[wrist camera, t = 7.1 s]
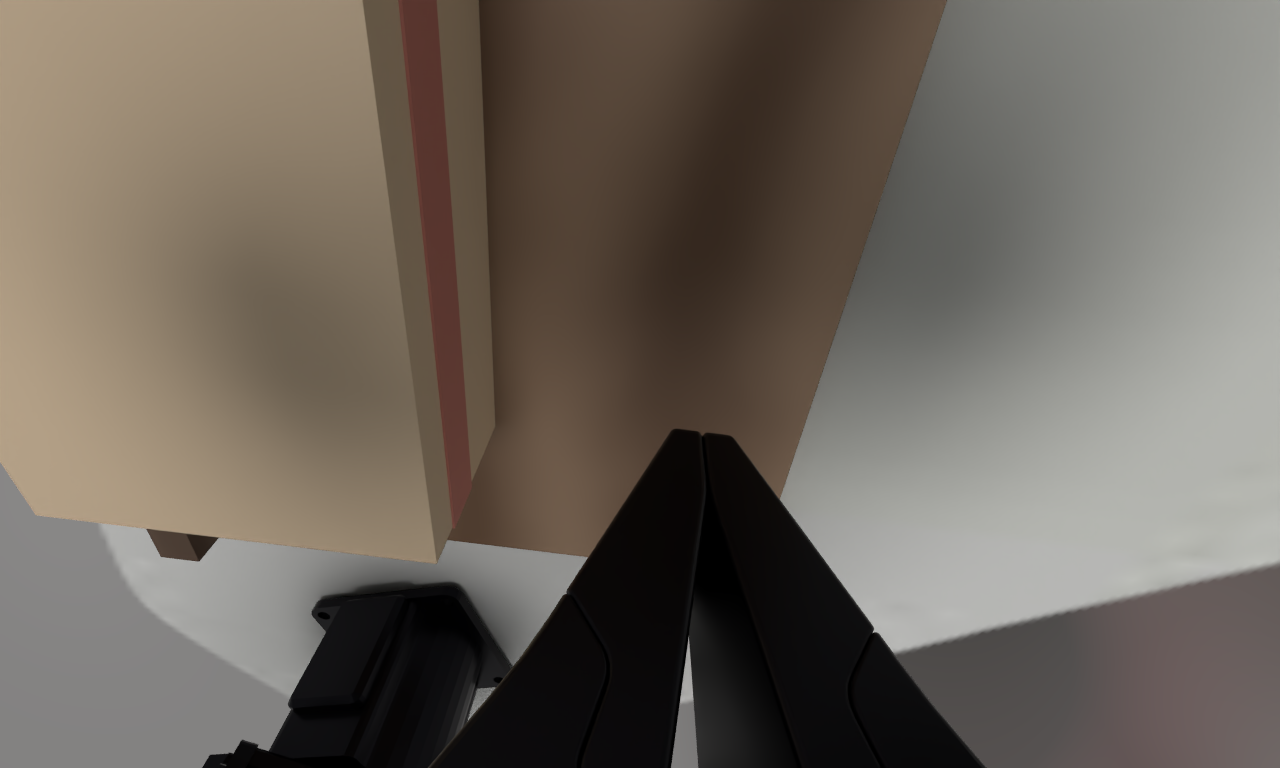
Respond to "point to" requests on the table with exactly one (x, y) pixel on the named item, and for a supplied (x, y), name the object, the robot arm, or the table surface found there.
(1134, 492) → the table surface
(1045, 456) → the table surface
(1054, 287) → the table surface
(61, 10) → the kraft carton
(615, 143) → the display board
